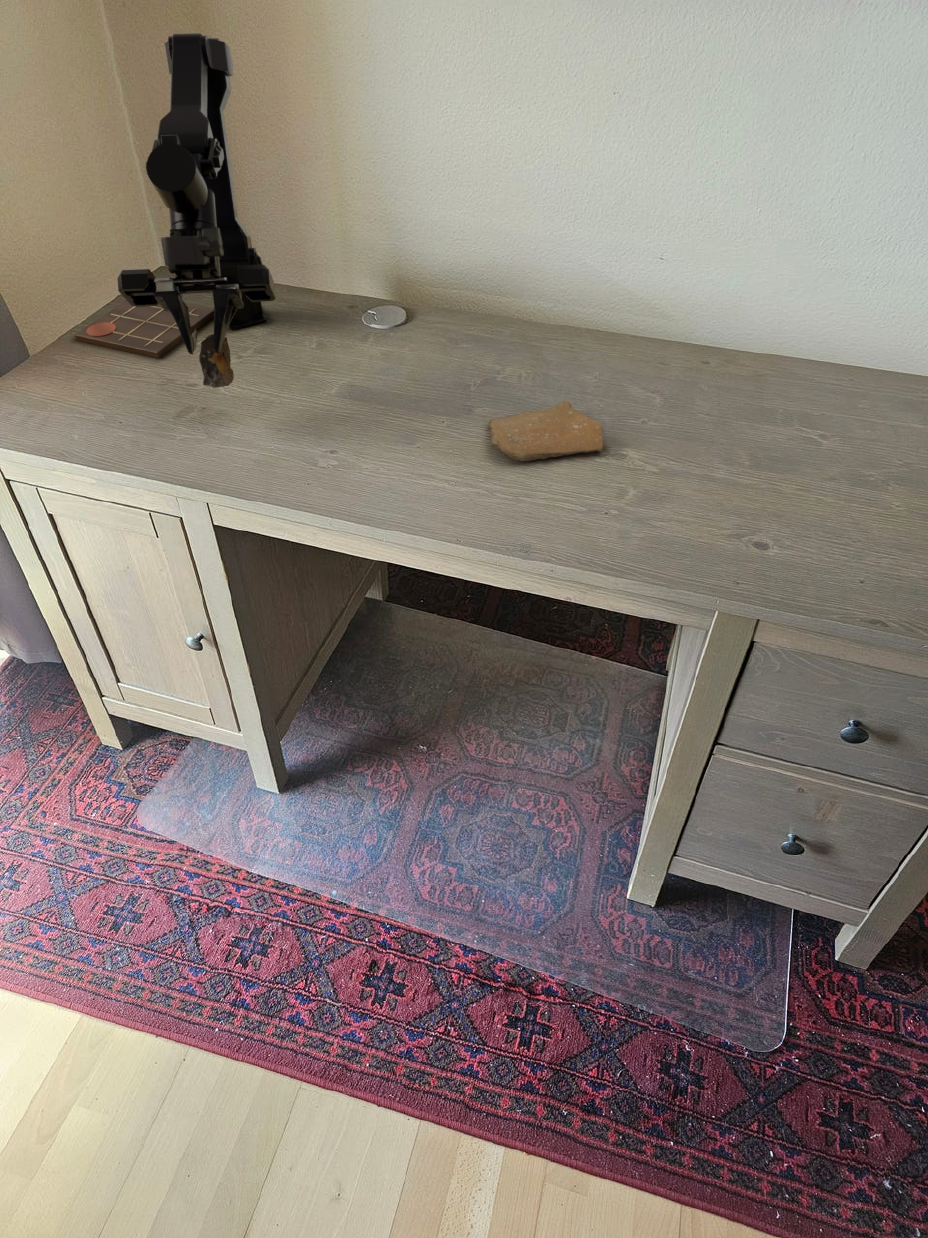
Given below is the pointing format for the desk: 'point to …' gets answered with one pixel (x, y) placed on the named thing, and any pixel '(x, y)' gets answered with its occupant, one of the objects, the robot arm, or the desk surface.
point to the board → (141, 329)
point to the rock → (214, 362)
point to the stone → (546, 433)
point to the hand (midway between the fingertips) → (203, 352)
